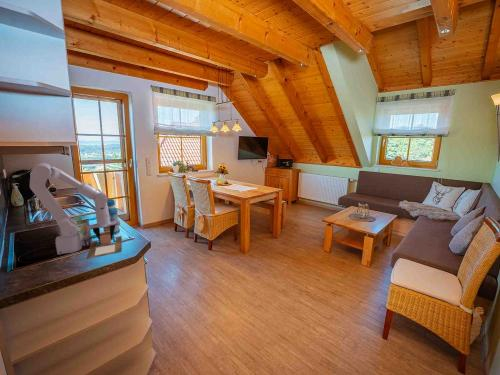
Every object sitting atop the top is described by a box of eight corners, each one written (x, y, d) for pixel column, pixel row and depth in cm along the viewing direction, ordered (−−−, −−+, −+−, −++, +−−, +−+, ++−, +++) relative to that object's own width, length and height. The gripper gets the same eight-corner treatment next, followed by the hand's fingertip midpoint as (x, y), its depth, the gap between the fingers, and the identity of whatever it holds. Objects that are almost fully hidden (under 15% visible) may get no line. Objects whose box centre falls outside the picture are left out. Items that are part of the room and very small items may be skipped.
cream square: (94, 256, 109) (94, 255, 109) (96, 248, 117) (96, 247, 117) (114, 252, 113) (114, 251, 113) (114, 244, 121) (114, 244, 121)
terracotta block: (101, 247, 121) (99, 236, 120) (102, 242, 127) (100, 232, 125) (111, 245, 123) (110, 234, 122) (111, 241, 129) (110, 230, 127)
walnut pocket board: (86, 261, 107) (86, 259, 107) (92, 243, 126) (91, 241, 126) (121, 254, 113) (121, 251, 113) (121, 238, 132) (121, 235, 132)
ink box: (79, 243, 126) (75, 219, 124) (73, 243, 127) (69, 219, 124) (91, 238, 133) (87, 215, 130) (85, 237, 134) (81, 214, 131)
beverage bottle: (121, 234, 138) (117, 200, 134) (104, 237, 133) (99, 203, 129) (119, 229, 145) (114, 197, 141) (102, 233, 140) (98, 200, 136)
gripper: (84, 220, 115) (88, 246, 118) (118, 215, 122) (121, 240, 124) (86, 216, 121) (90, 241, 124) (118, 211, 128) (121, 235, 130)
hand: (106, 240), depth 125 cm, fingers closed on terracotta block, 4 cm apart
